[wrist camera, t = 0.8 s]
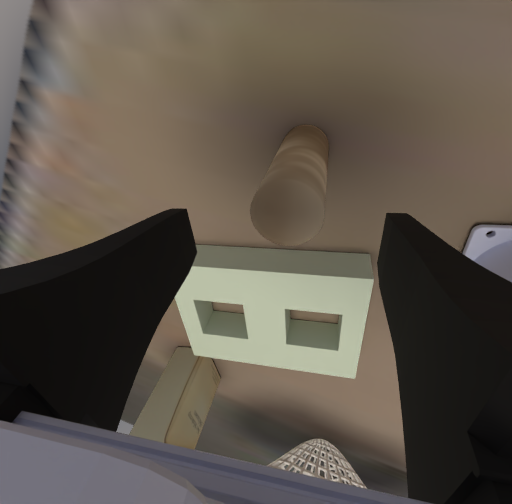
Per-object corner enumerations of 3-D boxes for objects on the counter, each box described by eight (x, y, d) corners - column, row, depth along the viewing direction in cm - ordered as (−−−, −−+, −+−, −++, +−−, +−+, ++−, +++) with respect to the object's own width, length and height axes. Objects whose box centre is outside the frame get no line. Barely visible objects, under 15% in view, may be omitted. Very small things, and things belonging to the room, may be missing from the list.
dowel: (330, 123, 18) (326, 179, 11) (327, 171, 19) (322, 247, 12) (281, 125, 18) (246, 179, 11) (282, 171, 20) (253, 244, 13)
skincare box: (221, 377, 38) (183, 492, 28) (191, 375, 39) (144, 484, 29) (206, 346, 34) (156, 465, 25) (174, 344, 36) (114, 456, 26)
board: (369, 253, 22) (373, 279, 20) (353, 351, 29) (354, 378, 27) (179, 243, 26) (163, 264, 24) (204, 332, 33) (194, 355, 30)
